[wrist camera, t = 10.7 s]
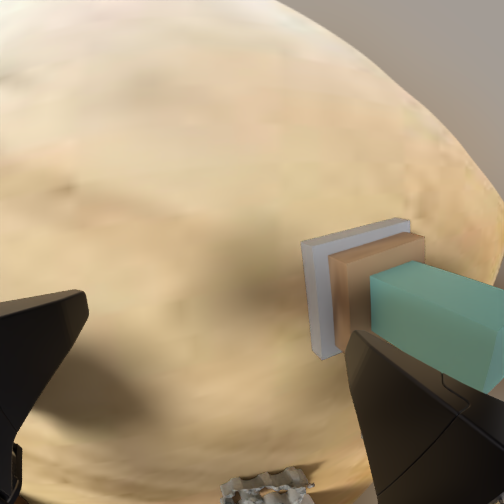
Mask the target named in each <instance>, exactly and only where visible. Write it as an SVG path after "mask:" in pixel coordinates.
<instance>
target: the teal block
mask: <svg viewBox="0 0 504 504" xmlns="http://www.w3.org/2000/svg"><path fill="white" fill-rule="evenodd" d="M370 295H371V331H373V332H374V333H376V334H377V335H379V336H380V337H382V338H383V339H385V340H387V341H388V342H390V343H391V344H393V345H394V346H396V347H397V348H399V349H400V350H402V351H403V352H405V353H407V354H409V355H411V356H412V357H414V358H416V359H418V360H420V361H422V362H423V363H425V364H427V365H429V366H431V367H433V368H434V369H436V370H438V371H440V372H441V373H445V374H446V375H448V376H450V377H452V378H454V379H456V380H458V381H460V382H462V383H464V384H466V385H468V386H470V387H472V388H474V389H476V390H479V391H481V392H483V393H485V394H487V393H489V392H490V391H491V390H492V389H493V388H494V387H495V386H496V385H497V384H498V383H499V382H500V381H501V380H502V379H503V378H504V290H502V289H500V288H497V287H494V286H491V285H488V284H485V283H482V282H479V281H476V280H473V279H470V278H467V277H464V276H461V275H458V274H454V273H451V272H448V271H445V270H442V269H439V268H436V267H433V266H429V265H426V264H423V263H420V262H416V261H413V260H412V261H410V262H407V263H404V264H402V265H399V266H396V267H393V268H391V269H388V270H385V271H382V272H379V273H376V274H374V275H371V276H370Z"/></svg>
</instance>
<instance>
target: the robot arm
mask: <svg viewBox="0 0 504 504" xmlns="http://www.w3.org/2000/svg"><path fill="white" fill-rule="evenodd" d="M88 316H89V309H88V304H87V298H86V294H85V292H84V291H80V290H76V289H74V290H68V291H62V292H57V293H51V294H46V295H40V296H34V297H29V298H23V299H17V300H11V301H6V302H0V504H14V502H15V501H16V499H17V498H18V496H19V493H20V490H21V487H22V448H21V447H20V446H19V445H18V444H15V443H14V439H15V436H16V434H17V432H18V431H19V429H20V427H21V426H22V424H23V422H24V421H25V419H26V417H27V416H28V414H29V412H30V411H31V409H32V407H33V406H34V404H35V402H36V401H37V399H38V398H39V396H40V394H41V393H42V391H43V390H44V388H45V387H46V385H47V384H48V382H49V380H50V379H51V377H52V376H53V374H54V373H55V371H56V370H57V368H58V367H59V365H60V364H61V363H62V361H63V360H64V358H65V357H66V355H67V354H68V352H69V351H70V349H71V348H72V346H73V344H74V343H75V341H76V339H77V337H78V335H79V334H80V332H81V330H82V328H83V326H84V325H85V323H86V321H87V319H88ZM345 361H346V367H347V374H348V381H349V387H350V392H351V396H352V399H353V403H354V407H355V410H356V414H357V418H358V421H359V425H360V429H361V433H362V437H363V441H364V444H365V448H366V452H367V456H368V460H369V465H370V469H371V473H372V477H373V482H374V486H375V490H376V495H377V499H378V504H504V402H503V401H501V400H499V399H496V398H494V397H492V396H489V395H487V394H485V393H483V392H481V391H479V390H476V389H474V388H472V387H470V386H468V385H466V384H464V383H462V382H460V381H458V380H456V379H454V378H452V377H450V376H448V375H446V374H445V373H441V372H440V371H438V370H436V369H434V368H433V367H431V366H429V365H427V364H425V363H423V362H422V361H420V360H418V359H416V358H414V357H412V356H411V355H409V354H407V353H405V352H403V351H401V350H400V349H398V348H396V347H394V346H392V345H390V344H389V343H387V342H385V341H383V340H381V339H380V338H378V337H376V336H374V335H372V334H371V333H369V332H367V331H365V330H354V331H353V332H352V333H351V336H350V339H349V341H348V344H347V346H346V349H345Z"/></svg>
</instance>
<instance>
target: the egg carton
mask: <svg viewBox="0 0 504 504" xmlns="http://www.w3.org/2000/svg"><path fill="white" fill-rule="evenodd" d="M314 486H315V484H314V483H309V484H308V480H307V478H306V476H305V475H304V473H303V471H302V469H296V468H295V467H294V466H291V467H287V468H286V469H285V470H284V471H283V472H281V473H279V474H276V475H270V474H268V472H265V473H262V474H259V475H258V476H257V477H256V478H254V479H251V480H242V479H240V477H236V478H231V479H230V481H229V482H227V483H225V484H222V485H220V489H221V492H222V494H223V497H222V498H220V503H221V504H234V501H233V499H232V497H233V496H235V491H238V492H239V494H240V497H241V500H239V501H238V502H237V503H235V504H300V503H301V501H302V500H303V496H304V495H306V489H305V488H306V487H307V488H311V487H314ZM264 487H266V488H267V489H273V490H275V491H277V492H271V493H268V494H266V495H265V496H264V497H263V498H262V497H261V495H260V493H259V491H260V490H261V489H262V488H264ZM282 489H283V490H284V489H285V490H288V489H289V490H288V491H287V492H286V493H283V494H279V493H278V491H280V490H282Z"/></svg>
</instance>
